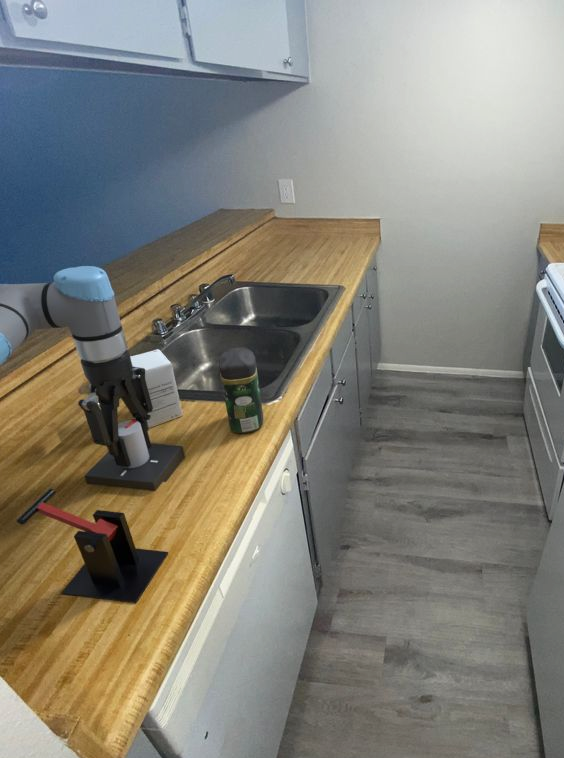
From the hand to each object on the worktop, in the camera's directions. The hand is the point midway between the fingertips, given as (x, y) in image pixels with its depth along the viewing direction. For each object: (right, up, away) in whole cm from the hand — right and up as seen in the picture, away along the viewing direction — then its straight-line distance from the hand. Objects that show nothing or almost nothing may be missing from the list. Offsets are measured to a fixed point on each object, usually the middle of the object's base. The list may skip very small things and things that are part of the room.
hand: (134, 455), depth 95 cm
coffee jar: (+17, +4, +18) cm, 25 cm away
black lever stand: (+9, -15, -19) cm, 26 cm away
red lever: (+4, -5, -24) cm, 25 cm away
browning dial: (0, -1, +1) cm, 1 cm away
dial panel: (0, -4, +2) cm, 4 cm away
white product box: (-5, +5, +19) cm, 21 cm away
